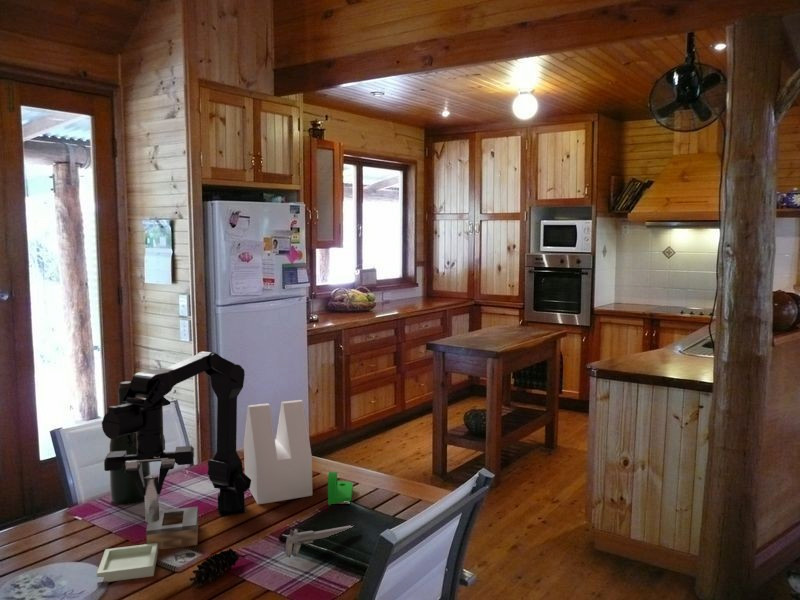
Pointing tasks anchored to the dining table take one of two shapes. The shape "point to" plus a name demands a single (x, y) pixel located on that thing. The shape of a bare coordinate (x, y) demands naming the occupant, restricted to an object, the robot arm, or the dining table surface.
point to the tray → (128, 562)
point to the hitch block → (174, 528)
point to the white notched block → (278, 453)
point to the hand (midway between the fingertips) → (151, 494)
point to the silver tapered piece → (151, 498)
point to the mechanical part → (338, 489)
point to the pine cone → (215, 566)
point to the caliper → (308, 538)
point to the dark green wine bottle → (121, 482)
